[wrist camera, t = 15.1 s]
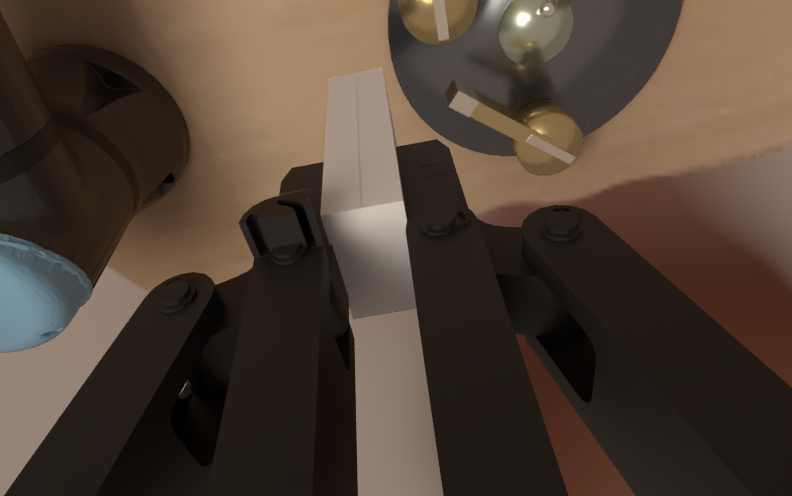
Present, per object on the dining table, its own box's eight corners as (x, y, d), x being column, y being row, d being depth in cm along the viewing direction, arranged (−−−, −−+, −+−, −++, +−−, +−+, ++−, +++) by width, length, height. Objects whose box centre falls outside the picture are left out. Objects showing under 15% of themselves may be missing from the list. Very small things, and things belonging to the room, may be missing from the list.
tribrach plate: (415, 172, 52) (417, 185, 51) (356, -113, 37) (356, -109, 36) (660, 123, 50) (672, 134, 49) (702, -199, 35) (721, -200, 34)
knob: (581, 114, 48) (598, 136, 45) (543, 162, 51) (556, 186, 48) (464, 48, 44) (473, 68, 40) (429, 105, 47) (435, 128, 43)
